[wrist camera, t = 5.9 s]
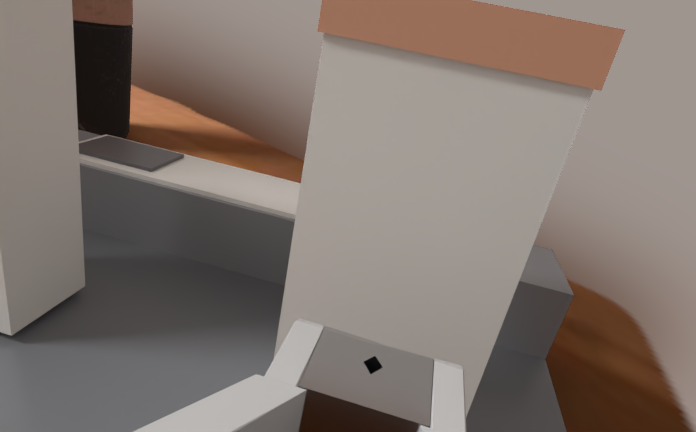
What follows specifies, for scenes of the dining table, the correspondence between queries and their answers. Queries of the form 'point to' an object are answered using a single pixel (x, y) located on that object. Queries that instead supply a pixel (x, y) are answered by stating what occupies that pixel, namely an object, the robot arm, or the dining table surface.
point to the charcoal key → (38, 162)
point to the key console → (213, 303)
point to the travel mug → (103, 65)
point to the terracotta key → (433, 168)
